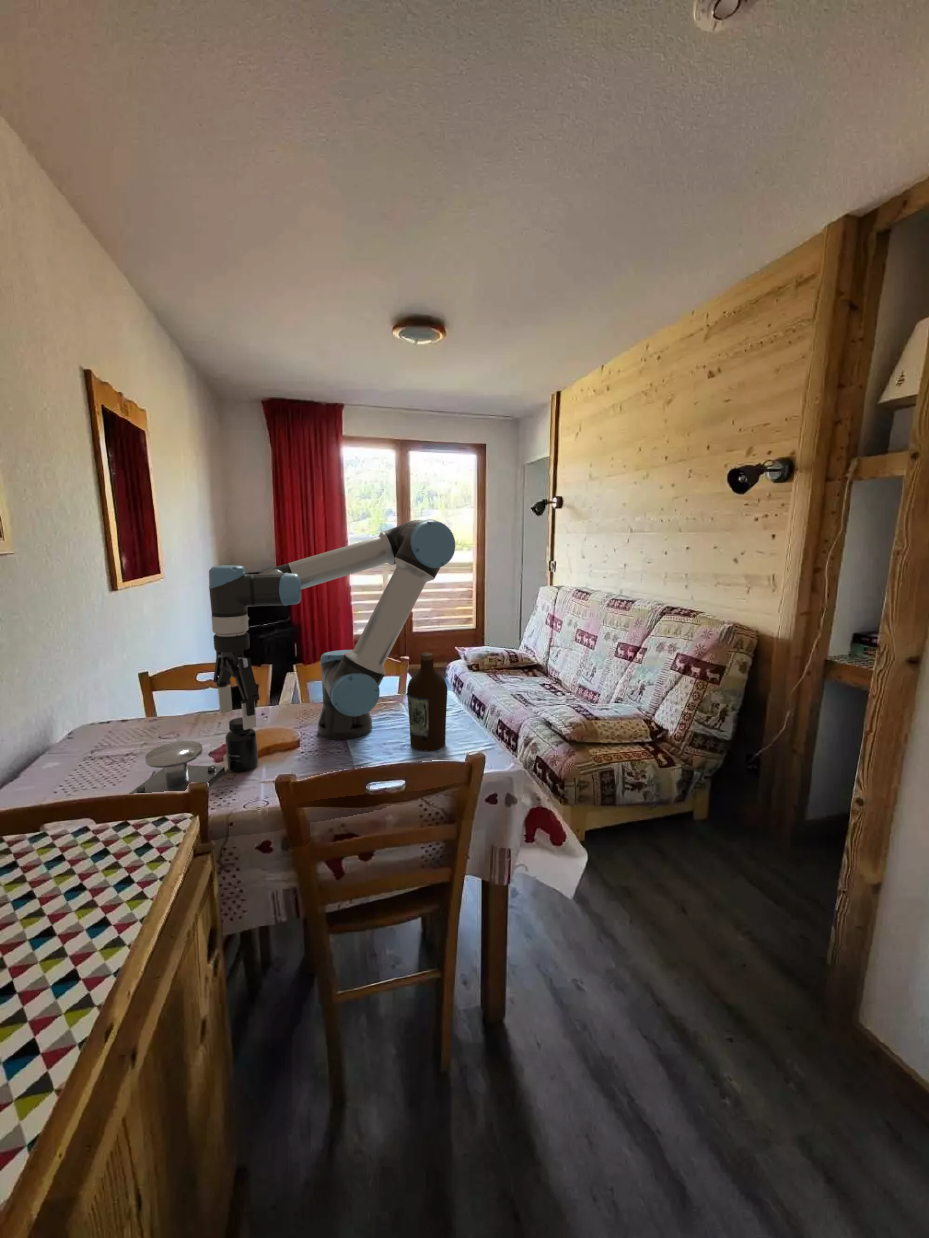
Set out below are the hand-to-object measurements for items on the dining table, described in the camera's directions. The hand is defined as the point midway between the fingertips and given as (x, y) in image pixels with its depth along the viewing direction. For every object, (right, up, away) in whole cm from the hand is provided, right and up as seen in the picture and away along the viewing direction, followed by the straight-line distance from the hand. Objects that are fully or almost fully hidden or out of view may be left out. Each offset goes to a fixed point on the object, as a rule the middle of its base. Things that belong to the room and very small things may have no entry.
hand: (237, 719), depth 120 cm
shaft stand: (-10, -14, -7) cm, 18 cm away
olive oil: (+44, -10, +15) cm, 48 cm away
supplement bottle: (0, -12, +3) cm, 13 cm away
